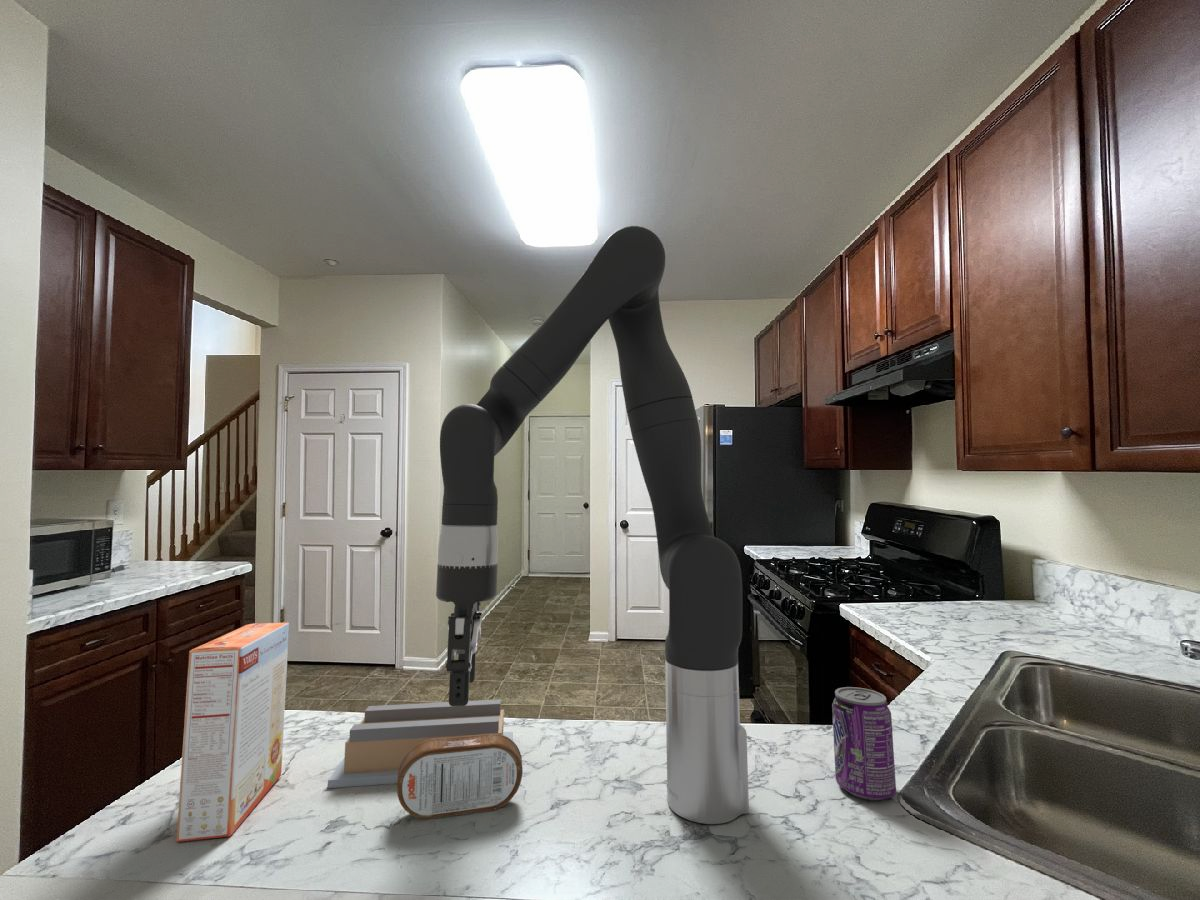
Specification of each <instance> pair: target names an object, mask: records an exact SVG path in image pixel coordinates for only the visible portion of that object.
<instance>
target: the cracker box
mask: <svg viewBox="0 0 1200 900" xmlns="http://www.w3.org/2000/svg"><path fill="white" fill-rule="evenodd" d="M289 623H290V622H260V623H259V622H258V623H249V624H245V625H243V626H241V627H239V628H237V629H235V630H231V631H230V632H227V633H225V634H223V635H221V636H220V637H217V638H215V639H212V640H210V641H208V642H206V643H204V644H201V645H199V646H197V647H195V648H192V649H191V650H189V652H188V665H187V668H188V669H187V678H186V679H187V681H186V692H185V694H186V696H185V711H184V724H183V725H184V727H183V739H182V740H183V741H182V754H181V765H180V766H181V769H180V783H179V799H178V811H177V812H178V813H177V814H178V815H177V825H176V826H177V827H176V842H177V843H181V842H191V841H200V840H209V839H218V838H227V837H231V836H232V835H233V834H234V832H235V831H236V830H237V829H238V828H239V827H240V825H241V824H242V823H243V822H244V821H245V820H246V819H247V817H248V816H249V815H250V813H251V812H252V811H253V809H255V808H256V806H257V805H258V804H259V803H260V801H261V800H262V799H263V798H264V797H265V795H267V794H268V792H269V791H270V789H271V788H272V787H273V786H274V785H275V783H277V781H278V780H279V779H280V778H281V777H282V766H283V748H284V729H285V728H284V727H285V726H284V725H285V708H286V688H287V687H286V686H287V671H288V670H287V669H288V668H287V667H288V654H289V652H288V650H289V648H288V647H289V631H290V624H289Z"/></svg>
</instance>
